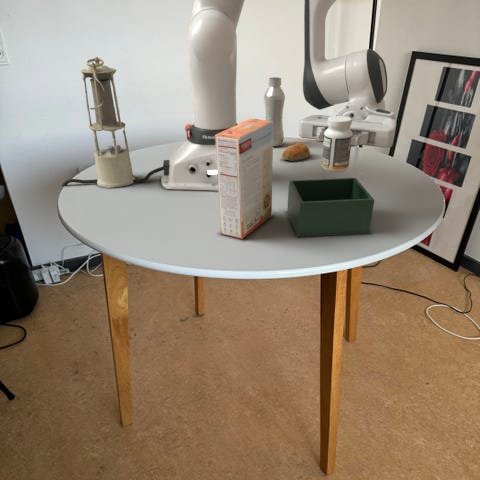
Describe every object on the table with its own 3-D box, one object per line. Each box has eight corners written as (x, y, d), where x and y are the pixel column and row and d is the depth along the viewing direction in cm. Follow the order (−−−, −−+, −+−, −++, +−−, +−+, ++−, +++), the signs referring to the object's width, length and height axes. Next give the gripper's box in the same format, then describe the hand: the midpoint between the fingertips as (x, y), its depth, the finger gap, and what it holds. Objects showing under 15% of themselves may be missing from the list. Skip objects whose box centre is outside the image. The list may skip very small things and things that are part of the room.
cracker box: (249, 211, 108) (249, 117, 96) (272, 216, 106) (275, 120, 93) (218, 234, 99) (213, 132, 86) (242, 240, 96) (241, 136, 84)
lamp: (137, 174, 130) (120, 53, 113) (130, 191, 120) (109, 61, 102) (101, 175, 130) (78, 54, 112) (90, 192, 120) (62, 61, 102)
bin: (297, 237, 97) (300, 203, 93) (287, 212, 108) (288, 180, 103) (368, 233, 98) (374, 199, 94) (351, 209, 109) (355, 177, 104)
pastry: (294, 164, 136) (295, 150, 134) (276, 160, 140) (276, 147, 138) (311, 156, 142) (312, 143, 140) (293, 152, 146) (294, 140, 143)
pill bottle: (350, 165, 98) (356, 116, 92) (346, 174, 94) (352, 122, 88) (323, 163, 99) (328, 114, 94) (318, 171, 95) (323, 120, 89)
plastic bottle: (284, 148, 149) (287, 79, 138) (263, 148, 150) (264, 80, 138) (283, 142, 155) (285, 76, 143) (263, 142, 155) (264, 76, 143)
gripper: (311, 105, 104) (289, 118, 94) (403, 113, 97) (390, 128, 87) (308, 134, 108) (287, 149, 98) (397, 144, 101) (384, 162, 91)
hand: (336, 140), depth 92 cm, fingers closed on pill bottle, 5 cm apart
